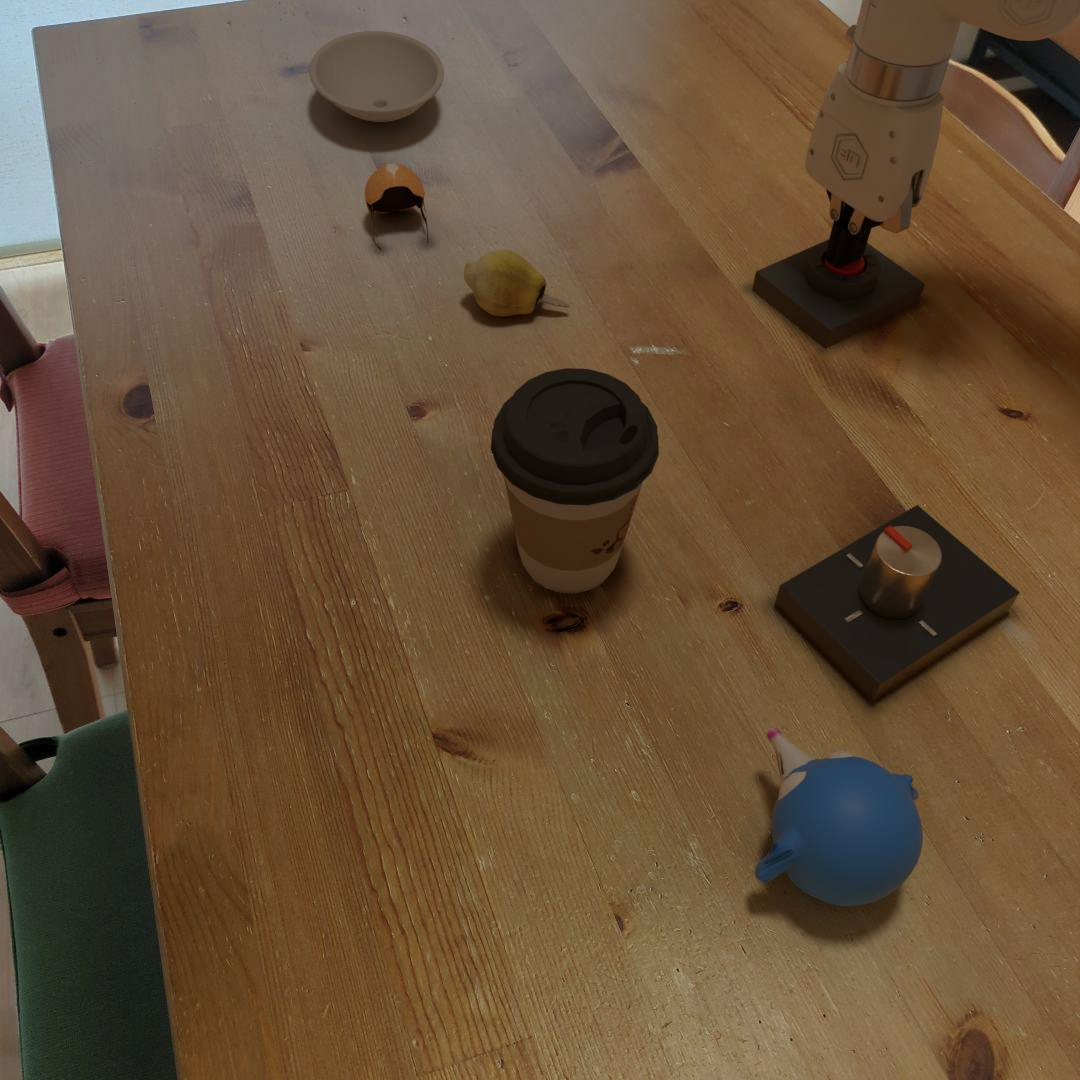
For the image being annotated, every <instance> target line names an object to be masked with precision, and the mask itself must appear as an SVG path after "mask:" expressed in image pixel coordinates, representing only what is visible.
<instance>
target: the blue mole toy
mask: <svg viewBox="0 0 1080 1080" xmlns="http://www.w3.org/2000/svg"><path fill="white" fill-rule="evenodd" d="M766 737H767V739H768V741H769V742H770V743H771V744H772V747H773V750H774V755H775V759H776V763H777V768H778V774H779V785H780V786H779V789H778V797H777V799H776V801H775V803H774V806H773V809H772V813H771V824H770V825H771V836H772V841H773V846H772V847H771V849H770V850H769V851H768V853H767V854H766V855H765V856H763V858H762V859H760V860H759V861H758V862H757V864H756V865H755V868H754V875H755V878H756V879H757V880H758V881H760V882H762V883H768V882H771V881H773V879H775V878H777V877H778V876H779V875H781V874H782V873H784V872H785V874H786V875H787V877H788V878H789V880H791V881H792V882H793V883H794V885H795V886H796V887H797V888H798V889H800V891H802V892H803V893H805V894H807V895H808V896H810V897H811V898H812V897H813V898H815V899H817V900H819V901H822V902H825V903H827V904H829V905H833V906H839V907H858V906H864V905H868V904H872V903H875V902H877V901H880V900H882V899H884V898H885V897H887V896H888V895H891V894H892V893H894V892H895V891H896V890H897V889H898V888H899V887H901V886H902V885H903V884H904V883H905V882H906V881H907V879H908V878H909V877H910V876H911V874H912V873H913V871H914V869H915V868H916V866H917V864H918V861H919V859H920V856H921V852H922V848H923V837H924V836H923V835H924V834H923V825H922V819H921V816H920V813H919V809H918V808H917V805H916V803H915V802H914V801H916V800H918V799H919V796H920V794H919V793H920V792H919V791H918V790H917V789H916V787H913V786H914V784H913V781H914V778H913V775H909V774H901V773H900V774H899V773H892V772H890V771H889V770H887V769H886V768H885V767H883V766H881V765H879V764H878V763H876V762H874V761H871V760H869V759H866V758H863V757H859V756H854V754H852V753H851V751H847V750H833V752H831V753H830V754H829V755H828V756H827V757H823V758H814V757H812V756H811V755H809V754H808V753H807V752H805V751H804V750H802V749H801V748H800V747H798V746H797V745H795V744H794V743H792V742H791V741H790V739H787V737H785V736H784V735H783V733H782V731H781V730H780V729H779V728H777V727H770V728H768V730H767V732H766Z"/></svg>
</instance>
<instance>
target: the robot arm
mask: <svg viewBox="0 0 1080 1080" xmlns="http://www.w3.org/2000/svg"><path fill="white" fill-rule="evenodd" d="M1079 16H1080V0H862V1H861V4H860V9H859V13H858V17H857V22H856V24H852V25H851V26H849V28H848V29H847V31H846V33H845V37H844V39H845V40H846V42H848V43H850V50H849V54H848V58H847V61H844V62H842V63H840V64H839V66H838V67H837V69H836V71H835V73H834V74H833V77H832V80H831V81H830V83H829V85H828V87H827V90H826V92H825V95H824V97H823V99H822V101H821V102H822V103H821V105H820V106H819V107H820V108H819V110H818V113H817V116H816V119H815V121H814V122H815V123H814V125H813V128H812V131H811V136H810V139H809V143H808V147H807V151H806V155H805V162H804V167H805V170H806V172H807V174H808V176H809V177H810V178H811V179H812V180H813V181H814V182H815V183H817V184H818V185H820V186H821V187H822V188H824V189H825V191H826V194H827V197H828V200H829V210H828V211H829V217H830V219H831V220H832V221H833V222H832V227H831V230H830V234H829V238H828V239H829V242H828V248H827V252H826V255H825V260H827V261H828V262H829V263H830V262H833V266H835V267H836V268H837V269H839V268H841V267H843V266H845V265H847V264H850V263H852V262H855V261H857V260H859V259H860V258H861V257H862V256H863V254H864V252H865V249H866V245H867V243H868V241H869V238H870V234H871V231H872V229H874V228H877V227H880V228H882V229H883V230H886V231H889V232H891V233H894V234H898V233H901V232H903V231H906V230H907V229H909V228H910V226H911V219H912V209H913V208H917V207H918V206H919V205H920V203H921V200H922V199H923V196H924V194H925V191H926V188H927V186H928V181H929V178H930V175H931V172H932V168H933V165H934V160H935V156H936V151H937V148H938V143H939V138H940V137H939V136H940V131H941V125H942V117H943V108H944V96H943V94H941V93H940V91H941V89H942V84H943V82H944V79H945V75H946V71H947V68H948V65H949V63H950V59H951V56H952V53H953V50H954V46H955V43H956V40H957V36H958V33H959V30H960V26H961V24H962V22H963V23H967V24H969V25H972V26H974V27H976V28H978V29H981V30H983V31H986V32H988V33H991V34H993V35H997V36H999V37H1003V38H1006V39H1008V40H1009V39H1010V40H1015V41H1020V42H1021V41H1022V42H1035V41H1040V40H1045V39H1049V38H1051V37H1054V36H1057V34H1060V33H1061V32H1063V31H1064V30H1066V29H1067V28H1068V27H1069V26H1071V25H1072V24H1073V23H1074V22H1075V21H1076V20H1077V19H1078V18H1079Z"/></svg>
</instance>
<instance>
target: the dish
mask: <svg viewBox="0 0 1080 1080" xmlns="http://www.w3.org/2000/svg"><path fill="white" fill-rule="evenodd" d="M308 69H309V71H308V73H309V78H310V81H311V83H312V85H313V87H314V88H315V90H316V91H317V92H318V93H319V94H320V96H322V97H323V98H324V99H326V100H327V101H329V102H331V103H332V104H333V105H335V106H336V107H337V108H339V109H340V110H341V111H343V112H344V113H346V114H348V115H350V116H352V117H355V118H357V119H360V120H363V121H368V122H376V123H388V122H394V121H398V120H401V119H403V118H406V117H408V116H410V115H412V114H413V113H415V112H416V111H417V110H419V109H420V108H421V107H422V106H424V104H425V103H426V102H428V101H430V100H431V99H432V98H433V97H434V96H435V95H436V94H437V93H438V91H440V89H441V87H442V85H443V83H444V78H445V72H444V71H445V69H444V65H443V62H442V60H441V59H440V56H438V54H437V53H436V52H435V51H434V50H433V49H432V48H430V46H428V45H427V44H426V43H423V42H422V41H421V40H418V39H416V38H414V37H411V36H408V35H405V34H401V33H397V32H391V31H383V30H382V31H381V30H367V31H357V32H352V33H347V34H345V35H341V36H339V37H336V38H334V39H332V40H330V41H328V42H327V43H325V44H324V45H322V46H320V48H319V49H317V51H316V52H315V53H314V55H313V56H312V58H311V61H310V63H309V67H308Z"/></svg>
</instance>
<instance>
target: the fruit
mask: <svg viewBox="0 0 1080 1080" xmlns="http://www.w3.org/2000/svg"><path fill="white" fill-rule="evenodd" d="M463 279H464V282H465V283H466V285H467V286H468V287H469V288H470V290H471V291H472V294H473V296H474V298H475V301H476V303H477V305H478V306H479V308H481V309H482V310H484V311H485V312H487V313H488V314H489V315H490V316H494V317H500V318H505V317H512V316H516V315H529V314H531V313H533V311H534V310H535V309H537V307H538V306H539V303H545V304H547V305H550V306H555V307H561V308H570V306H571V304H570V303H568V302H566V301H564V300H563V299H559V298H557V297H555V296H550V295H549V294H546V293H545V291H546V287H547V280H546V278H545V277H544V276H543V275H542V273H540V272H539V271H538V270H537V269H535V268H534V266H533V265H532V264H531V263H529V261H527V259H525V257H523V256H522V255H520V254H519V253H517V252H516V251H513V250H509V249H495V250H492V251H488V252H486V253H485V254H482V255H481V257H479V258H478V259H477V260H474V261H469V260H467V261H466V263H465V265H464V269H463Z"/></svg>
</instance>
